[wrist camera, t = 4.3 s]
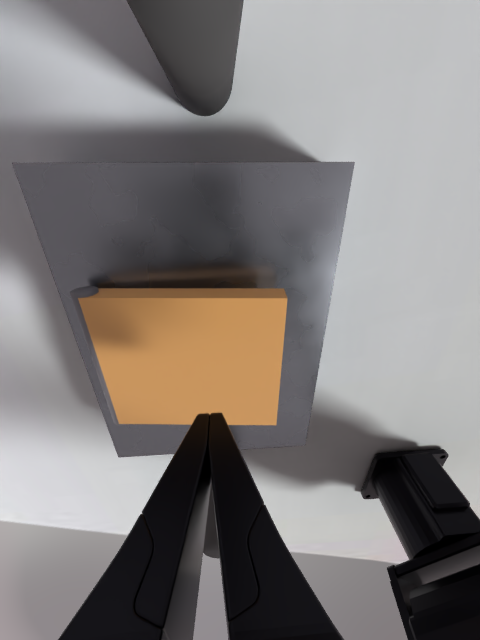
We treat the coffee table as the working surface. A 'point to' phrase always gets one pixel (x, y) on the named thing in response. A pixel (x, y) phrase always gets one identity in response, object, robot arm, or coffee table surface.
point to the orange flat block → (186, 351)
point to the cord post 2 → (211, 531)
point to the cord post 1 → (194, 47)
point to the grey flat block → (199, 257)
